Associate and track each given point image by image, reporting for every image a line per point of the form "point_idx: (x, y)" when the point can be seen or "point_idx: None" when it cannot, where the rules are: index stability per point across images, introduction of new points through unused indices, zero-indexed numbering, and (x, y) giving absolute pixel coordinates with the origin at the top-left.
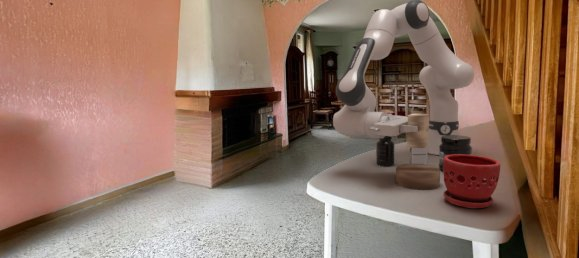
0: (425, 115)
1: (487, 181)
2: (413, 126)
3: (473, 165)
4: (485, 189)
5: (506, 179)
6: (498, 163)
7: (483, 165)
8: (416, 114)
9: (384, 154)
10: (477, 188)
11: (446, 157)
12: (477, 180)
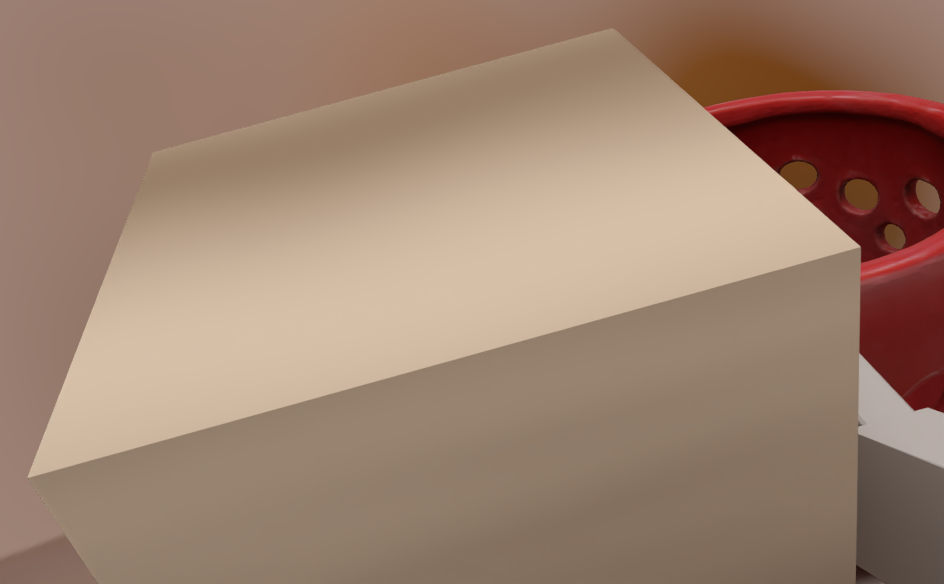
0: (535, 50)
1: (843, 190)
2: (876, 382)
3: (941, 103)
4: None
5: (68, 541)
6: (709, 106)
7: (873, 92)
8: (395, 227)
9: None
10: (898, 249)
11: (940, 234)
12: (912, 194)
